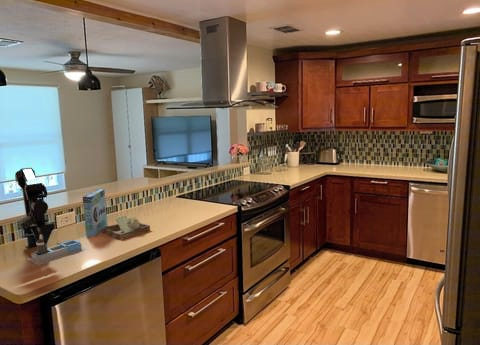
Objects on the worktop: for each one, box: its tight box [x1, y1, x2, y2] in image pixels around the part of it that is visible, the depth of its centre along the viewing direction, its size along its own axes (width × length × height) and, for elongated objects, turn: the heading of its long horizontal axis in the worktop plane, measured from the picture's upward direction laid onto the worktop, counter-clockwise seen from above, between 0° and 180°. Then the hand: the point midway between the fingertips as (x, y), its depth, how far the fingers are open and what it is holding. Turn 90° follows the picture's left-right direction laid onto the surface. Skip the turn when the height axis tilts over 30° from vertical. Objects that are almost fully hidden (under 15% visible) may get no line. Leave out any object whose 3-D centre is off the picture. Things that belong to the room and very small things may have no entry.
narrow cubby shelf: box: [27, 239, 88, 266], centre depth 175 cm, size 12×23×5 cm, turn 140°
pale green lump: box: [115, 214, 141, 233], centre depth 208 cm, size 15×7×15 cm
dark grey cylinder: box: [36, 238, 48, 255], centre depth 170 cm, size 4×4×9 cm
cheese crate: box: [101, 222, 151, 241], centre depth 209 cm, size 19×19×3 cm
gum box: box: [82, 188, 108, 238], centre depth 210 cm, size 20×5×23 cm, turn 178°
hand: (41, 241), depth 170 cm, fingers open, 9 cm apart
